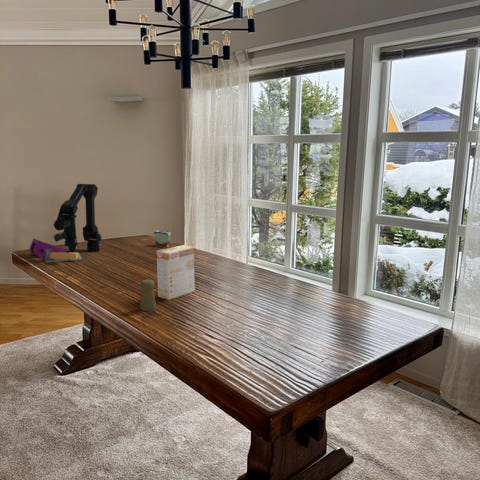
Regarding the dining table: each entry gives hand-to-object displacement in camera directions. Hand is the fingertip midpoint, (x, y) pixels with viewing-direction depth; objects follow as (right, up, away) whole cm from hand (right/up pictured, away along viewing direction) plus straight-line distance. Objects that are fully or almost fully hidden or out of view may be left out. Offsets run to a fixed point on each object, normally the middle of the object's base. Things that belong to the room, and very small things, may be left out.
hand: (71, 255), depth 239 cm
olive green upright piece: (+57, -18, -73) cm, 94 cm away
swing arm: (-5, -2, -2) cm, 5 cm away
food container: (+44, +4, +38) cm, 58 cm away
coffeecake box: (+65, -15, -55) cm, 87 cm away
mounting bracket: (-18, -1, +13) cm, 22 cm away
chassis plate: (-6, -2, +4) cm, 8 cm away
